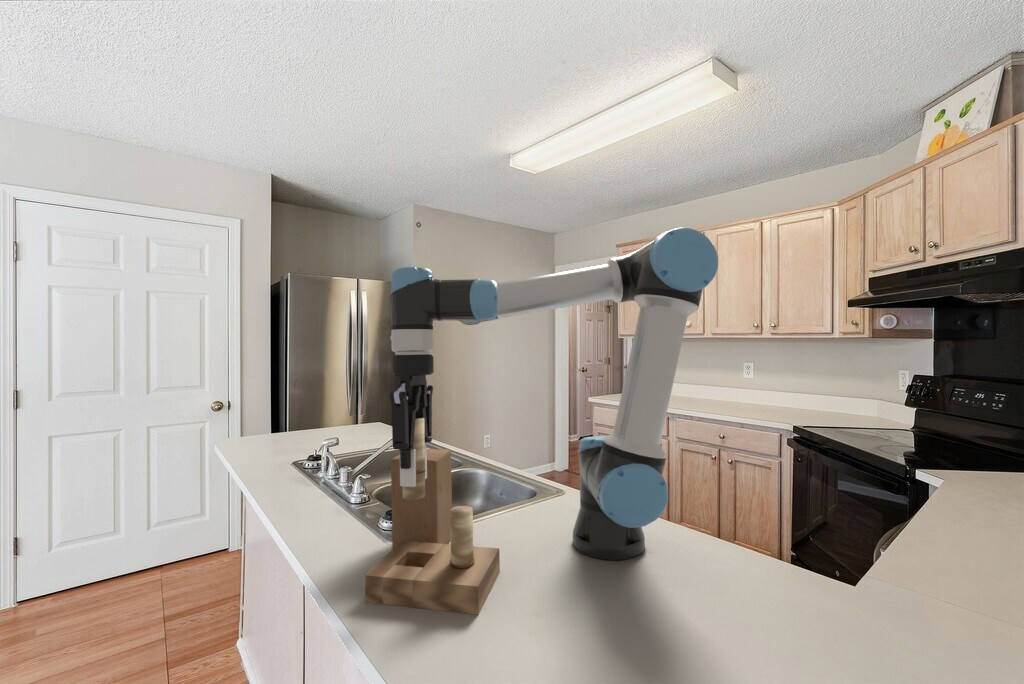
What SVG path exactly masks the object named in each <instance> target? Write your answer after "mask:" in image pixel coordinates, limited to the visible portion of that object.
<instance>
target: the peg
mask: <svg viewBox="0 0 1024 684" xmlns="http://www.w3.org/2000/svg"><path fill="white" fill-rule="evenodd" d="M413 449H416V486H415V487H405V486H403V498H404V499H406V500H417V499H421V498H423V497H425V433H424V418H415V430H414V443H413Z"/></svg>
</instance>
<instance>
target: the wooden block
mask: <svg viewBox="0 0 1024 684" xmlns="http://www.w3.org/2000/svg"><path fill="white" fill-rule="evenodd" d="M390 468H391V469H390V471H391V472H390V477H391V478H390V481H391V487H390V488H391V489H390V490H391V535H392V536H391V537H392V538H391V539H392V540H391V541H392V542H391V545H392V548H391V551H392V550H393V549H394V548H395V547H396V546H397V545H398V544H399V543H400V542H401V541H414V542H426V543H439V544H449V543H451V532H450V509H452V508H453V503H452V502H453V500H452V499H453V497H452V493H453V491H452V488H453V486H452V451H451V449H438V448H434V449H433V448H427V478H426V479H425V497H423V498H421V499H417V500H406V499H404V498H403V486H400V454H398V455H396V456H395V457H393V458H391V460H390Z"/></svg>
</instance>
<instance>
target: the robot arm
mask: <svg viewBox="0 0 1024 684" xmlns="http://www.w3.org/2000/svg"><path fill="white" fill-rule="evenodd" d="M718 269H719V255H718V252H717V249H716V246H715V245H714V244H713V243H712V242H711V240H710V238H709V237H708V236H707V235H706V234H704V233H702V232H701V231H699V230H697V229H694V228H691V227H690V228H689V227H677V228H674V229H670V230H666V231H664V232H662V233H661V234H659V235H658V236H657V237H656V238H655V239H654V240H652V241H651V242H649V243H647V244H646V245H644V246H642V247H641V248H640V249H637V250H636V251H633V252H631V253H628V254H626V255H623V256H617V257H613V258H610V259H608V260H607V263H605V264H602V265H596V266H589V267H583V268H579V269H573V270H567V271H560V272H556V273H549V274H543V275H538V276H533V277H526V278H521V279H516V280H510V281H509V280H508V281H504V282H498V283H497V282H496V281H495V280H493V279H483V278H476V279H475V278H473V279H472V278H471V279H438V278H434V276H433V271H432V270H431V269H429V268H426V267H415V266H405V267H404V266H403V267H402V266H401V267H399V268H395V269H394V270H393V271H392V273H391V277H390V278H391V281H390V292H389V297H390V319H391V320H390V321H391V322H390V324H391V327H390V329H391V333H390V334H391V335H390V337H389V339H390V342H391V351H392V352H393V353H394V355H393V354H392V356H391V358H390V359H391V368H390V369H391V374H392V376H396V377H397V376H398V377H399V378H398V384H397V389H396V390H395V391H390V392H389V398H390V399H389V400H390V404H391V428H392V429H391V431H392V434H391V435H392V448H393V450H395V451H399V455H400V486H405V487H415V486H416V449H413V443H414V430H415V418H424V433H425V479H426V478H427V449H428V448H427V443H432V441H433V438H432V436H433V435H432V434H433V422H432V421H433V391H434V386H433V385H428V382H427V378H426V376H430V375H433V373H434V372H435V370H434V368H435V367H434V365H435V364H434V362H435V361H434V355H433V354H431V352H433V351H435V350H434V345H435V343H434V342H435V341H434V321H437V322H438V321H439V322H440V321H441V322H442V321H458V322H460V323H462V324H463V325H467V326H473V325H479V324H480V323H484V322H490V321H495V320H499V319H505V318H511V317H518V316H522V315H528V314H529V315H530V314H535V313H540V312H545V311H551V310H557V309H562V308H568V307H569V308H570V307H573V306H574V307H575V306H581V305H586V304H592V303H599V302H602V301H603V302H604V301H610V300H612V301H613V302H614V303H617V304H618V303H619V304H620V303H625V302H635V303H636V304H637V305H638V307H639V312H638V316H637V317H638V318H637V322H636V325H635V331H634V335H633V340H632V345H631V349H630V353H629V358H628V364H627V366H626V372H625V376H624V381H623V386H622V389H621V395H620V400H619V404H618V408H617V409H618V410H617V413H616V418H615V421H614V422H615V423H614V426H613V432H612V431H611V432H612V433H610V434H608V435H600V436H599V435H598V436H597V435H596V436H594V435H593V436H587V437H586V436H585V437H582V438H581V439H580V440H579V446H578V459H579V462H578V463H579V496H580V497H579V498H580V499H579V500H580V501H579V506H580V507H579V509H578V513H577V517H576V519H575V524H574V525H573V529H572V545H573V546H574V548H575V549H576V550H577V551H578V552H580V553H582V554H584V555H586V556H589V557H593V558H596V559H601V560H609V561H611V560H612V561H613V560H615V561H616V560H617V561H618V560H619V561H620V560H621V561H622V560H627V559H632V558H635V557H638V556H639V555H641V554H642V553H643V552H644V551H645V548H646V542H645V541H646V539H645V534H644V531H643V527H646V526H648V525H649V524H651V523H653V522H655V521H656V520H657V519H659V518H660V517H661V516H662V515H663V513H664V511H665V510H666V507H667V504H668V502H669V488H668V485H667V483H666V480H665V478H664V477H663V475H664V470H665V466H666V461H667V454H666V452H665V450H664V449H663V448H662V445H661V442H662V438H663V437H662V436H663V431H664V427H665V423H666V418H667V415H668V408H669V403H670V399H671V394H672V391H673V386H674V382H675V376H676V372H677V366H678V361H679V357H680V355H681V354H680V352H681V348H682V345H683V344H682V343H683V339H684V334H685V330H686V326H687V319H688V317H690V315H692V314H693V313H696V311H698V310H699V306H700V303H701V299H702V294H703V290H704V289H705V288H706V287H707V286H708V285H709V284H710V283H711V282H712V281H713V280H714V278H715V277H716V275H717V272H718Z"/></svg>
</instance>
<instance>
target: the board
mask: <svg viewBox="0 0 1024 684" xmlns="http://www.w3.org/2000/svg"><path fill="white" fill-rule="evenodd" d="M473 510H474V508H473V507H472V506H468V505H457V506H454V507H453V506H452V509H450V532H451V540H450V544H449V543H448V544H439V543H426V542H414V541H401V542H400V543H399V544H398V545H397V546H396V547H395V548H394V549H393V550H392V549H391V550H390V551H389V552H388V553H387V554H386V555H385V556H384V557H383V558H382V559H380V561H379V562H377V563H376V564H375V565H374V566H373V567H372V568H371V569H370V570H368V572H367V573H366V574H365V575H364V594H365V595H364V596H365V597H364V601H365V603H374V604H381V605H389V606H399V607H406V608H407V607H408V608H416V609H426V610H433V611H442V612H452V613H459V614H468V615H477V616H479V614H480V612H481V610H482V608H483V607H484V605H485V602H486V601H487V599H488V597H489V595H490V593H491V591H492V588H493V586H494V584H495V583H496V581H497V579H498V576H499V575H500V573H501V572H500V571H501V565H500V563H501V562H500V556H501V555H500V548H499V547H498V548H497V547H487V546H486V547H485V546H476V545H475V546H474V516H473V515H474V511H473Z"/></svg>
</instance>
